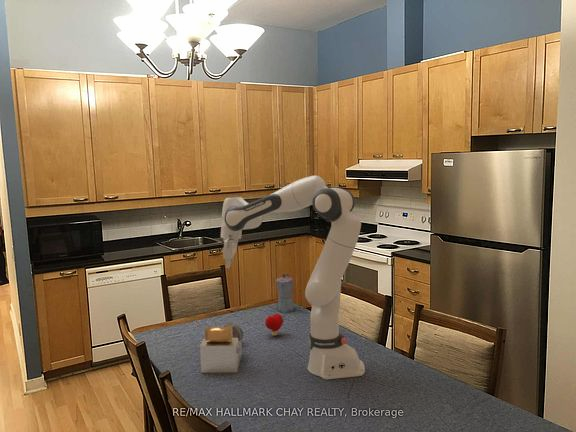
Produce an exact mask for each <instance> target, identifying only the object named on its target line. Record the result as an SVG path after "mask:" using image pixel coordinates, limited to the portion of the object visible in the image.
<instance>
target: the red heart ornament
mask: <svg viewBox="0 0 576 432" xmlns="http://www.w3.org/2000/svg"><path fill="white" fill-rule="evenodd" d="M283 323H284V318H283V315H281V314H279V313H274V314H273V315H268V316H267V317H266V319H265V327H266V328H267V329H268V330H270V331H271V335H272V336H273V337H276V336H277V335H278V331H279V330H280V329H281V328H282V326H283Z"/></svg>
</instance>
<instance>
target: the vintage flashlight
mask: <svg viewBox="0 0 576 432" xmlns="http://www.w3.org/2000/svg"><path fill="white" fill-rule="evenodd" d="M223 325H224V326H223V327H232V331H233V337H232V338H238V341H243V338H244V331H243V330H242V328H241V327H240V326H239V325H237V324H236V322H235V321H226V322H225V323H224V324H223Z"/></svg>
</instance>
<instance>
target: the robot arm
mask: <svg viewBox="0 0 576 432" xmlns="http://www.w3.org/2000/svg"><path fill="white" fill-rule="evenodd" d="M355 205H356V200H355V196H354V195H353V193H352V192H351V191H350V190H347V189H346V188H342V187H333V186H332V187H328V185H327V184H326V182H325V180H324V179H323V177H320V175H309V176H306V177H302V178H300V179H298V180H295V181H293V182H291V183H290V184H287V185H286V186H284V187H282V188H280V189H278V190H276V191H274V192H273V193H270V194H269V195H267V196H265V197H262V198H259V199H257V200H255V201H252V202H250V203H249V202H247V201H246V200H245V199H244V198H243V197H242V196H237V195H236V196H228V197H226V198H225V199H224V201H223V204H222V212H221V218H222V219H221V220H222V223H221V226H220V227H221V228H220V238H221V239H223V242H224V243H223V251H222V254H223V255H222V257H223V259H224V261H225V269H230V268H231V265H232V264H233V263H234V262H233V260H234V256H235V254H236V252H237V249H238V248H237V247H238V244H239V240H241V239H242V232H243V230H252V229H256V228H259V227H260V226H261V225H262V223H263V220H264V216H266V215H268V214H274V213H292V212H296V211H300V210H303V209H306V208H307V207H310V206H312V208H313V210H314V211H315V213H316V214H318V215H319V216H320V217H322V218H323V220H324V221H326V222H328V223H331V224H330V225H331V227H330V230H329V232H328V234H327V237H326V240H325V242H324V245H323V248H322V250H321V252H320V256H319V257H318V259H317V262H316V264H315V266H314V268H313V270H312V273H311V275H310V277H309V279H308V281H307V284H306V287H305V290H304V291H305V292H304V296H305V299H306V301H307V303H309V305H311V311H310V321H309V322H310V333H309V339H308V341H309V349H310V353H309V359H308V364H307V368H306V369H307V371H308V372H309V373H310V374H312V375H314V376H317V377H320V378H322V379H323V380H335V379H343V378H344V379H345V378H353V377H354V378H355V377H361V376H363V375H365V372H366V367H365V363H364V361H362V360H361V359H359V355H358V352H357V351H356V349H354V348H353V347H351V346H350V345H349V344H347V339H346V338H345V335H344V333H343V332H340V328H339V327H340V324H339V323H340V317H339V314H340V307H341V306H340V305H341V293H342V291H341V290H342V278H343V276H344V274H345V272H346V270H347V269H348V266H349V264H350V261H351V259H352V256H353V254H354V251H355V249H356V245H357V243H358V240H359V236H360V232H361V228H362V221H361V220H360V218H359V217H358V216H357V215H355V214H353V213H352V211H353V210H354V208H355Z"/></svg>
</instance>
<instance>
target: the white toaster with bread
mask: <svg viewBox="0 0 576 432" xmlns="http://www.w3.org/2000/svg"><path fill="white" fill-rule="evenodd" d="M232 337H233V331H232V327H224V326H206V327H205V330H204V338H203V339H202V341H201V343H200V345H199V352H200V353H199V355H200V371H201V373H202V374H203V373H204V374H206V373H207V374H209V373H210V374H211V373H214V374H215V373H216V374H217V373H237V372H238V369H239V366H240V363H241V361H242V356H243V345H242V344H243V342H242V341H243V340H240V341H238V338H232Z"/></svg>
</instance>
